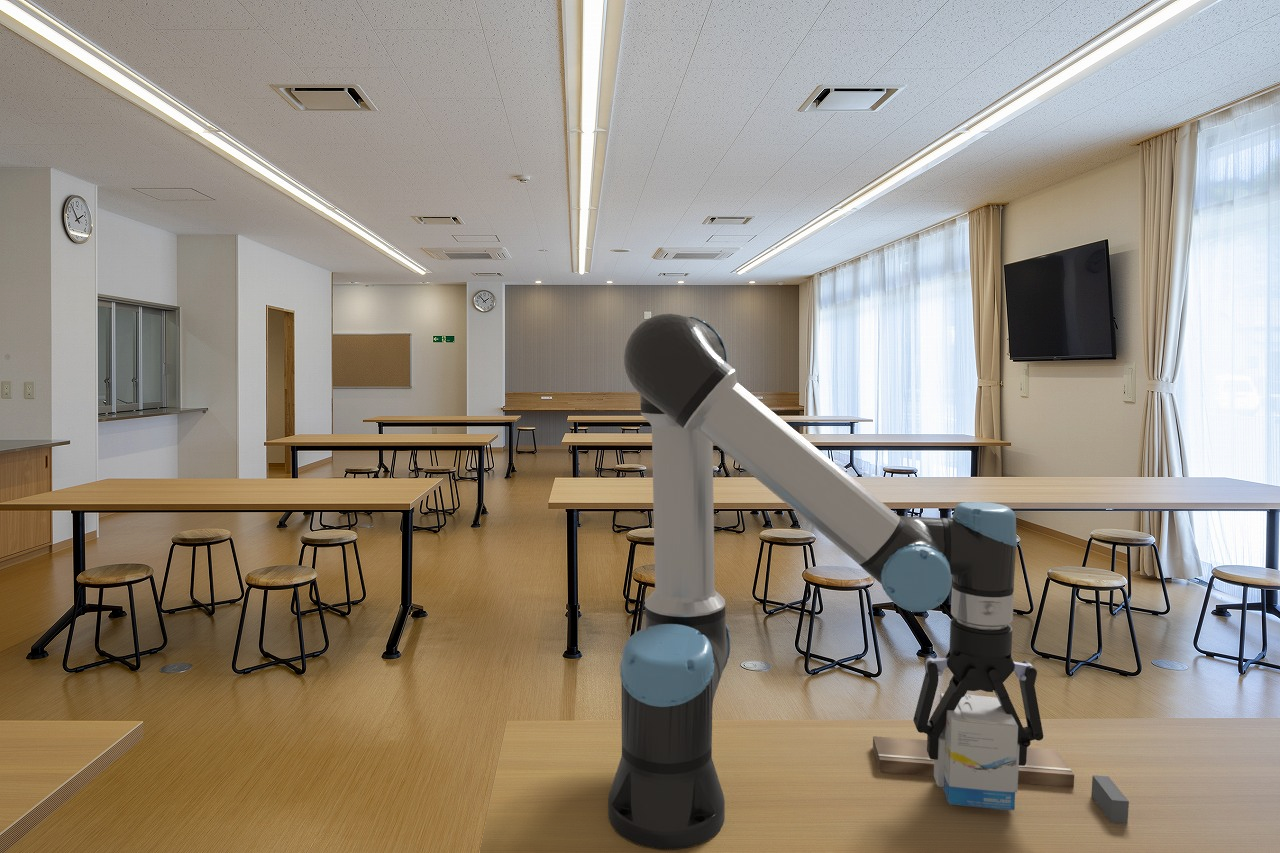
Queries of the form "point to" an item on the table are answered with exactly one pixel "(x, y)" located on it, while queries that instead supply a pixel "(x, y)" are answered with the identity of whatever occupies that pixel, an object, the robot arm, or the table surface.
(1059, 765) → the board
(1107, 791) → the block
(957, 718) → the ink box
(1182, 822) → the table surface
